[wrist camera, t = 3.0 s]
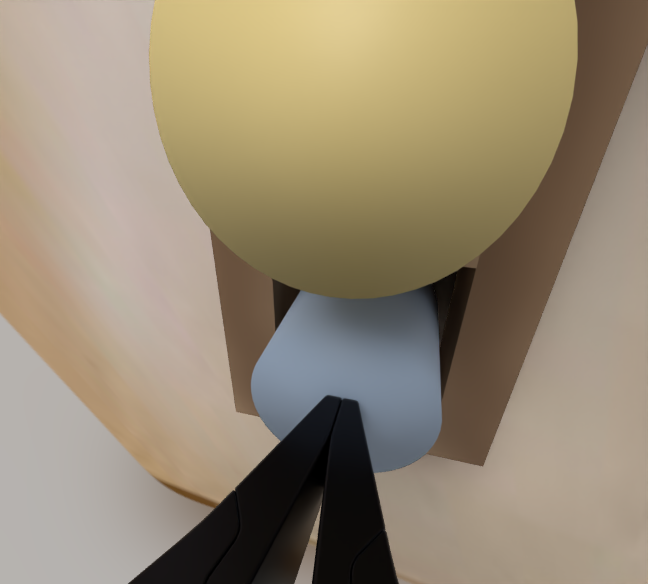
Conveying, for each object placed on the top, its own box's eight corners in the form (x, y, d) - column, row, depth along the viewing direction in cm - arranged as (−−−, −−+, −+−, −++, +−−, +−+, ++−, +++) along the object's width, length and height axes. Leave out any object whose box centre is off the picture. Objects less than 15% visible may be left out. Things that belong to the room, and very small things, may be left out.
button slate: (450, 255, 12) (462, 351, 8) (425, 370, 14) (424, 490, 10) (303, 238, 13) (243, 315, 9) (304, 349, 15) (257, 450, 11)
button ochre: (528, -46, 7) (685, -242, 3) (469, 213, 9) (500, 322, 5) (276, -37, 8) (100, -169, 4) (284, 196, 10) (185, 275, 6)
